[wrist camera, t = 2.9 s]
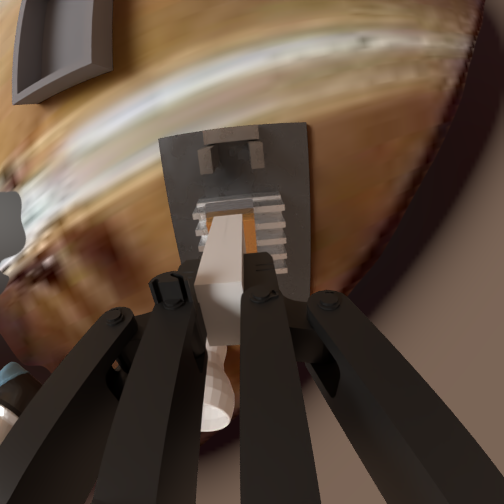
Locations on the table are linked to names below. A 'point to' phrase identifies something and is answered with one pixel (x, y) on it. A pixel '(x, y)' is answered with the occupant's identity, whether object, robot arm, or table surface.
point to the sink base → (245, 191)
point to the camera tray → (60, 46)
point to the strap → (231, 209)
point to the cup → (216, 392)
